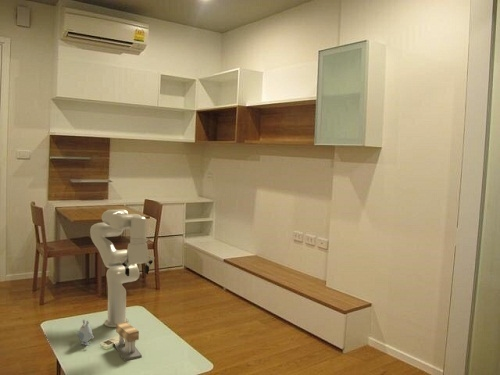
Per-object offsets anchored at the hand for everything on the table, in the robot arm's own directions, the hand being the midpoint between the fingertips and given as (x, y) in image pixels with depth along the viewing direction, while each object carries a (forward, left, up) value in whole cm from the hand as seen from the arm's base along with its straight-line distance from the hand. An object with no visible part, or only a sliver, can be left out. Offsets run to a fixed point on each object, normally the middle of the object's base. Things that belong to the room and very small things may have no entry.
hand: (137, 274), depth 220 cm
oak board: (+13, -8, -25) cm, 29 cm away
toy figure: (-2, -24, -32) cm, 40 cm away
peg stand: (+13, -8, -32) cm, 36 cm away
